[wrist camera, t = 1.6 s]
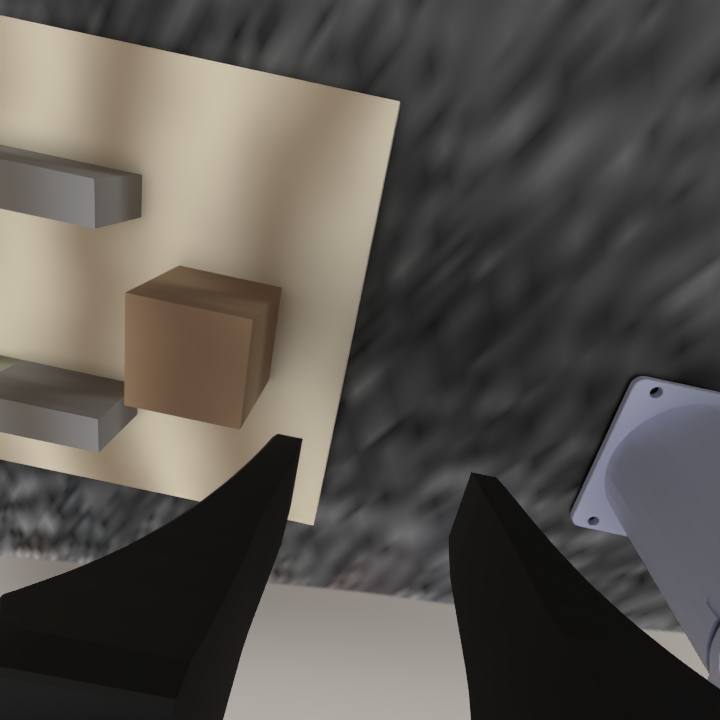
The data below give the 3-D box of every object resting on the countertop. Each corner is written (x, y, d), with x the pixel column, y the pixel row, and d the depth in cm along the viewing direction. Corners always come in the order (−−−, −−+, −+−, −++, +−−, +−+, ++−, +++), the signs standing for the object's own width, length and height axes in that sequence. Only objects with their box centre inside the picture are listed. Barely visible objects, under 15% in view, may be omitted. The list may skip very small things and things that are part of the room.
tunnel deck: (400, 106, 18) (399, 90, 13) (319, 497, 25) (301, 575, 20) (-332, -51, 18) (-585, -122, 13) (-205, 387, 25) (-343, 439, 20)
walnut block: (281, 287, 19) (252, 319, 15) (269, 380, 20) (239, 429, 17) (178, 265, 19) (124, 292, 15) (174, 360, 20) (124, 405, 17)
